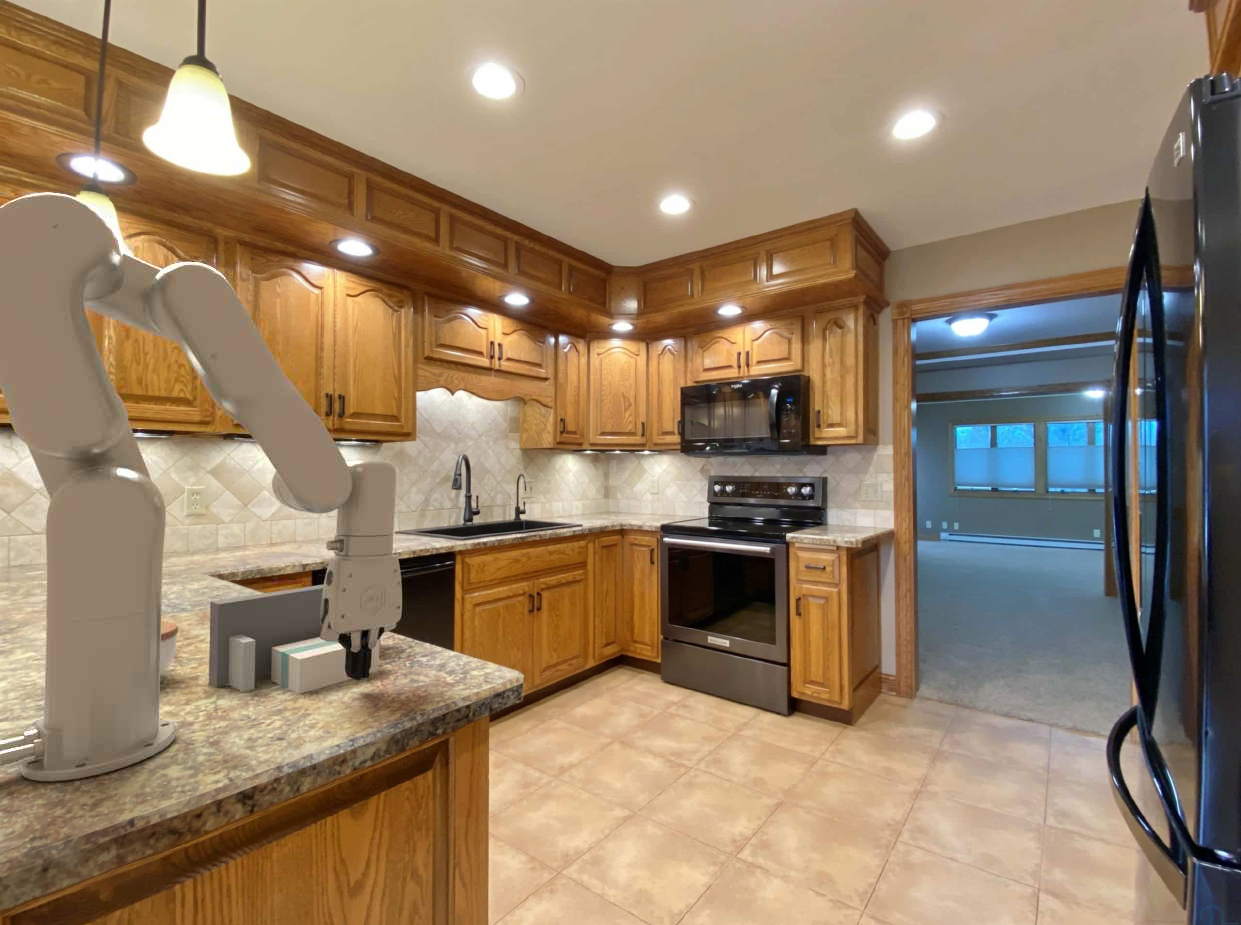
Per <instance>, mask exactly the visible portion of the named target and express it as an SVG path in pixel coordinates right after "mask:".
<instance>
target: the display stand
mask: <svg viewBox="0 0 1241 925" xmlns="http://www.w3.org/2000/svg"><path fill="white" fill-rule="evenodd" d="M323 586H324V584H317V585H312V586H306V587H305V586H304V587H298V588H293V589H284V590H279V591H272V592H265V593H257V594H251V595H243V596H238V597H232V598H224V599H218V600H217V599H216V600H211V601H210V607H209V611H210V612H209V613H210V614H209V650H208V651H209V652H208V653H209V654H208V656H209V658H208V684H210V685H211V686H213V687H215V688H219V687H224V686H230V687H232V688H234V689H236V690H238V691H240V692H242V693H245V692H250V691H253V690H255V683H256V682H255V679H256V678H259V677H263V676H267V675H270V674H271V664H272V647H277V646H281V645H286V644H290V643H295V642H299V641H304V640H308V639H313V638H317V637H320V635H321V631H322V628H323V627H322V626H321V623H320V610H321V599H322V592H323ZM359 634H360V631H359ZM378 640H379V656H381V637H380V638H379V639H378Z"/></svg>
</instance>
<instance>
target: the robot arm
mask: <svg viewBox="0 0 1241 925" xmlns="http://www.w3.org/2000/svg"><path fill="white" fill-rule="evenodd" d="M122 246H123V245H122V243H121V241H120V238H119V235H118V233H117V231H116V230H115V228H114V227H113V225H112V223H111V222H109V220H108V219H107V218H106V217H105V216H104V215H103V214H102V213H101V212H100V211H99V210H97V209H96V208H95V207H93V206H92V205H90V204H89V203H87V202H84V201H83V200H82V199H80V198H76V197H74V196H71V195H68V194H63V193H62V194H61V193H54V192H40V193H33V194H28V195H25V196H21V197H19V198H16V199H12V200H11V201H9V202H7V203H5V204H3V205H2V206H0V391H1V393H2V397H3V398H4V401H5V404H6V407H7V410H8V415H9V419H10V423H11V426H12V428H13V430H14V432H15V434H16V435H17V436H18V438H19V439H20V441H22V442H23V443H24V444H26V446H27V448H28V451H29V452H30V455H31V458H32V460H33V462H34V464H35V467H36V468H37V471H38V474H39V475H40V479H41V481H42V483H43V485H44V488H45V490H46V492H47V494H48V497H49V498H50V502H49V505H48V508H47V513H46V519H45V520H46V522H45V524H46V525H45V542H46V543H45V545H46V604H45V605H46V606H45V607H46V610H45V613H46V614H45V619H46V628H45V629H46V631H45V633H46V635H45V638H46V639H45V668H44V670H45V672H44V699H43V700H44V701H43V702H44V703H43V704H44V705H43V706H44V708H43V709H44V710H43V718H39V719H36V720H34V728H32V729H29V730H23V731H22V733H21V735H20V736H16V737H12V738H8V739H0V767H3V766H5V765H10V764H13V763H17V762H19V761H21V766H20V767H21V768H20V769H21V770H20V771H21V775H22V776H23V777H24V778H26V779H29V780H31V781H39V782H61V781H70V780H78V779H83V778H88V777H94V776H97V775H102V774H106V773H109V772H112V771H116V770H119V769H123V768H126V767H129V766H132V765H133V764H136V763H139V762H141V761H144V760H147V758H150V757H152V756H154V755H156V754H158V753H159V752H161V751H163V750H164V749H166V748H167V747H169V745H171V743H172V742H173V741H174V740H175V738H176V730H177V728H176V725H175V723H173V722H172V721H170V720H167V719H162V718H160V693H161V688H160V687H161V676H160V656H161V622H162V607H163V605H162V593H163V592H162V591H163V590H162V589H163V588H162V587H163V563H164V562H163V561H164V549H165V548H164V546H165V545H164V544H165V538H166V537H165V535H166V523H167V522H166V521H167V520H166V517H167V515H166V505H165V500H164V497H163V495H162V493H161V491H160V489H159V487H158V486H157V485H156V484H155V483H154V482H153V480H152V478H151V475H150V473H149V471H148V467H147V465H146V462H145V459H144V457H143V455H142V453H141V449H140V447H139V445H138V442H137V440H136V437H135V434H134V431H133V429H132V427H131V424H130V421H129V416H128V415H129V414H128V410H127V408H126V404H125V403H124V401H123V400H122V398H121V396H120V395H119V394H118V392H117V390H116V388H115V387H114V385H113V384H114V383H112V380H111V378H110V375H109V373H108V371H107V367H106V366H105V363H104V361H103V358H102V356H101V353H100V351H99V348H98V345H97V343H96V338H95V336H94V332H93V330H92V327H91V324H90V322H89V318H88V316H87V313H86V310H88V311H92V312H93V313H96V314H99V315H102V316H104V317H107V318H109V319H113V320H114V321H117V322H120V323H123V324H125V325H128V326H131V327H133V328H136V329H139V330H140V331H144V332H147V333H149V334H153V335H156V336H159V337H161V338H164V339H166V340H170V341H174V342H176V344H177V345H178V347H179V348H180V349H181V352H182V353H183V354H184V356H185V357H186V360H187V361H188V362H189V364H190V365H191V367H192V369H193V370H194V371H195V373H196V374H197V376H198V378H199V380H200V381H201V383H202V385H204V388H205V389H206V390H207V392H208V394H209V396H210V398H212V400H213V401H214V402H215V404H216V405H217V406H218V407H219V408H220V409H221V410H222V411H223V413H225V414H226V415H227V416H229V417H230V418H231V419H232V420H235V421H236V422H237V423H238V424H239V425H241V426H242V428H244V429H245V430H246V431H247V432H248V434H250V437H252V438H253V440H254V441H255V442H256V443H257V444H258V446H259V447H260V449H261V451H263V453H264V454H265V456H266V457H267V459H268V460H269V462H270V463H271V465H272V466H273V468H274V470H275V472H274V473H273V477H272V482H271V486H272V488H271V489H272V491H273V494H274V497H276V499H277V500H278V501H279V502H280V503H281V504H283V506H284V507H287V508H289V509H292V510H294V511H298V512H304V513H311V514H321V515H322V514H328V513H332V512H333V511H336V510H337V513H336V530H335V531H336V532H335V535H334V539H332V540H328V541H327V542H326V546H325V547H326V549H327V551H330V552H331V551H333V555H334V556H332V557H330V559H329V563H328V566H327V569H326V572H325V573H326V574H325V577H324V581H323V585H324V586H323V592H322V599H321V610H320V623H321V626H322V627H323V628H322V631H321V635H320V639H321V640H324V641H327V642H338V643H339V644H341V645H342V647H343V648H344V649H346V658H345V672H346V675H347V677H350V678H352V679H351V680H354V681H360V680H362V679H369V676H370V674H369V669H370V668H371V657H372V649H373V648H374V647H375V646H376V643H377V640H378V639H379V638H380V637H381V636H383V635H384V633H387V632H390V631H392V630H393V629H395V628H396V627H397V623H398V622H399V621H400V620H401V617H402V612H403V611H402V610H403V590H402V589H403V587H402V586H403V585H402V584H403V583H402V575H401V568H400V562H399V557H398V555H397V554H393V551H394V548H393V546H394V530H395V528H394V527H395V510H396V489H397V469H396V467H395V465H394V464H392V463H390V462H386V461H380V460H379V461H377V460H349V461H347V460H346V459H345V458H344V456H343V454H342V453H341V450H340V449H339V448H338V445H337V444H336V442H335V440H334V438H333V437H332V435H331V433H330V431H329V430H328V428H327V427H326V426H325V424H324V422H323V421H322V419H321V418H320V416H319V415H318V414H317V412H316V411H315V410H314V409H313V407H312V406H311V405H310V404H309V403H308V401H307V400H306V399H305V397H303V396H302V394H301V393H300V392H299V390H298V388H297V387H296V386H295V385H294V384H293V382H292V381H291V380H290V379H289V378H288V377H287V375H286V374H285V373H284V371H283V369H282V367H281V366H280V365H279V363H278V361H277V359H276V358H275V356H274V355H273V353H272V351H271V350H270V348H269V346H268V345H267V343H266V341H265V339H264V337H263V336H262V335H261V333H260V331H259V330H258V328H257V326H256V324H255V323H254V321H253V319H252V317H251V316H250V313H249V311H248V310H247V309H246V307H245V305H244V303H243V302H242V300H241V298H240V297H239V296H238V294H237V292H236V290H235V288H234V287H233V286H232V284H231V283H230V282H229V281H228V280H227V278H226V277H225V276H224V275H223V274H222V273H221V272H219V270H216V269H215V268H213V267H212V266H210V265H207V264H204V263H201V262H192V261H184V262H178V263H174V264H171V265H168V266H167V267H165V268H160V267H157V266H155V265H153V264H150V263H148V262H146V261H144V260H142V259H140V258H138V257H134V256H133V255H131V254H128V253H126V252H124V251H123V247H122ZM85 309H86V310H85ZM359 631H360V634H359Z"/></svg>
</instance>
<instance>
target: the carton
mask: <svg viewBox="0 0 1241 925" xmlns="http://www.w3.org/2000/svg"><path fill="white" fill-rule="evenodd" d="M345 658H346V649H344V648H343V647H342V645H341V644H339V643H338V642H327V641H324V640H321V639H320V637H317V638H313V639H308V640H304V641H299V642H295V643H290V644H286V645H281V646H277V647H272V664H271V675H270V680H271V681H272V682H274V683H276V684H278V685H280V686H282V687H284V688H286V689H288V690H290V691H293V692H294V693H296V694H298V695H300V694H303V693H306V692H307V693H308V692H310V691H311V692H312V691H314V690H317V689H322V688H325V687H327V686H331V685H336V684H338V683H342V682H345V681H348V680H353V679H352V678H350V677H347V675H346V672H345ZM379 659H380V655H379V640H377V643H376V646H375V647H374V648H373V649H372V657H371V668H370V669H369V675H370V674H373V673H377V672H379V671H380V670H379V668H380V666H379V665H380V662H379V661H380V660H379Z"/></svg>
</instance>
